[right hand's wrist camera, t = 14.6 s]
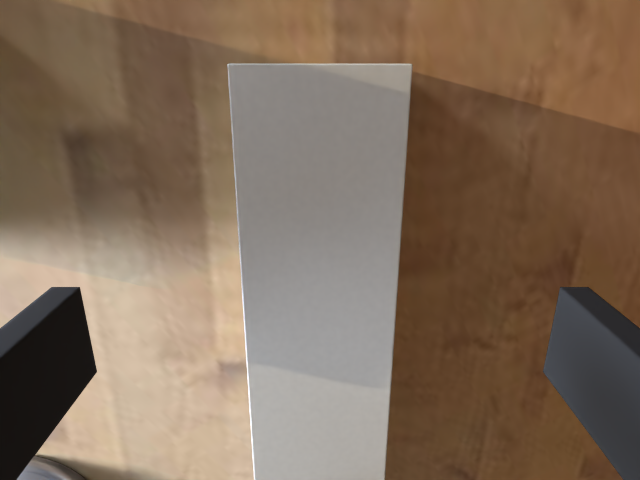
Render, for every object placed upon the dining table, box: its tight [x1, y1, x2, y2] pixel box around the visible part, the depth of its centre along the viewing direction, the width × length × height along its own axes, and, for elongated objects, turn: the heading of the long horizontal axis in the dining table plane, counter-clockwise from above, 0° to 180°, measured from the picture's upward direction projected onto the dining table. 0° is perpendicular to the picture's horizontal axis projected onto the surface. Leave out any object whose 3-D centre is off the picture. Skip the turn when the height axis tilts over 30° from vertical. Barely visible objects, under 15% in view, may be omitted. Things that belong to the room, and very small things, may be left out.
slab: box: [228, 64, 412, 480], centre depth 38 cm, size 61×10×7 cm, turn 0°
